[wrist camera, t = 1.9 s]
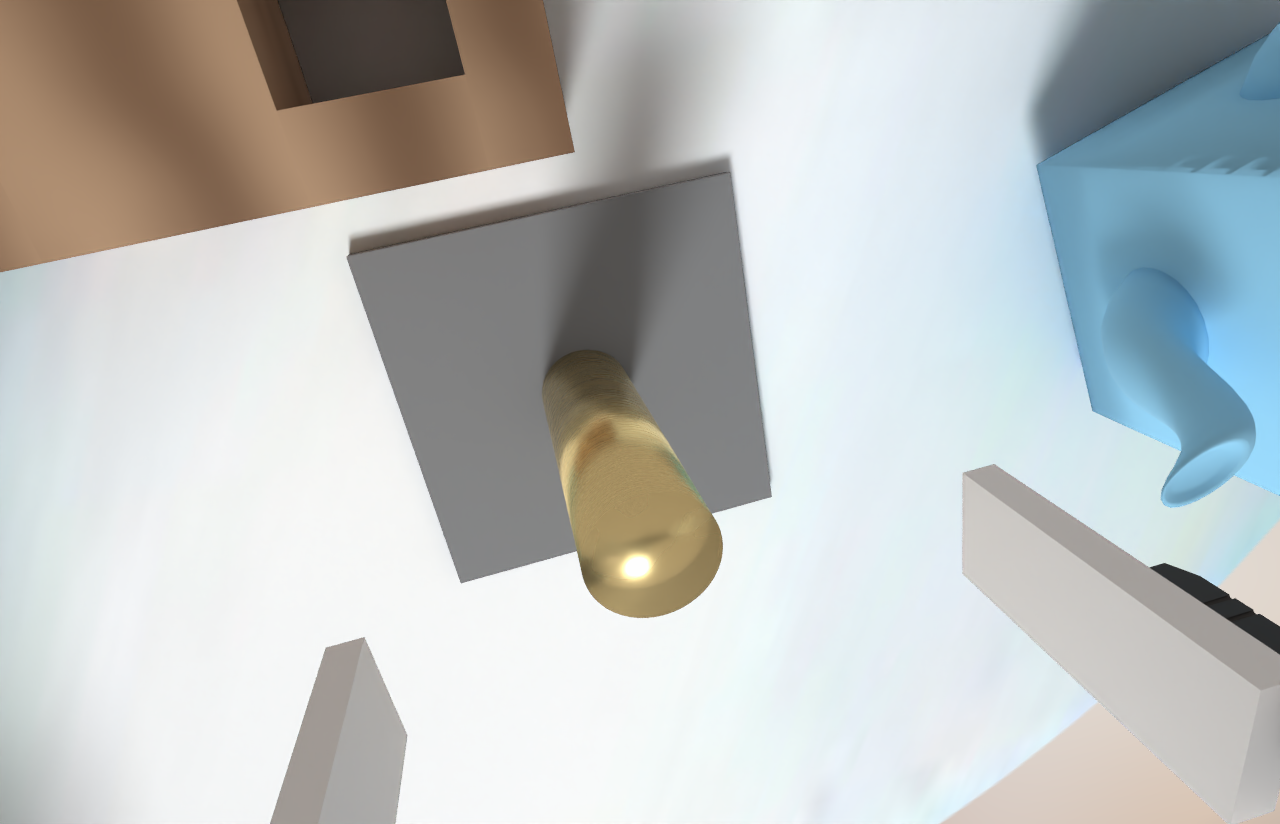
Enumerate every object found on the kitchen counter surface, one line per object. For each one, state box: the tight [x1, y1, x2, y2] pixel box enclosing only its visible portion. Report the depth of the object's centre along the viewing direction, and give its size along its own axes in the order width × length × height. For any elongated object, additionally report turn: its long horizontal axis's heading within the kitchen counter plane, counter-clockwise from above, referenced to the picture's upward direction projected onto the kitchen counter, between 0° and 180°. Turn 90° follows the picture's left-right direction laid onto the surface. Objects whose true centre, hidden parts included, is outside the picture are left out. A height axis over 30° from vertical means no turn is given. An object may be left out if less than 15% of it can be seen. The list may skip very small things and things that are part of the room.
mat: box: [347, 172, 772, 583], centre depth 28 cm, size 14×14×1 cm
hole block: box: [0, 0, 575, 272], centre depth 19 cm, size 22×10×5 cm, turn 101°
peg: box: [542, 350, 723, 618], centre depth 23 cm, size 4×4×12 cm
